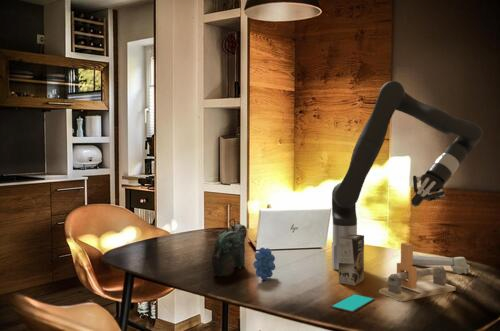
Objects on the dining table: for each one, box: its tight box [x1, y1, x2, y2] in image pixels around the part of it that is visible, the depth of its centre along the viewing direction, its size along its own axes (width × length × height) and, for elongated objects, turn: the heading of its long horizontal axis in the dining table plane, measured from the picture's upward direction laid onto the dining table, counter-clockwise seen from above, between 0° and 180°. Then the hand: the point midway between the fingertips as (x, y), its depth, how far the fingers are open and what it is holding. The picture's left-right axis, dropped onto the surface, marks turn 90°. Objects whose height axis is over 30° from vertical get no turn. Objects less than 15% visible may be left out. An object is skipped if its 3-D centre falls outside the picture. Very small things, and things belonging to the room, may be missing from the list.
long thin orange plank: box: [396, 242, 418, 289], centre depth 163 cm, size 2×7×14 cm, turn 27°
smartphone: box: [330, 294, 375, 314], centre depth 154 cm, size 7×1×15 cm
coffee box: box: [338, 234, 365, 286], centre depth 177 cm, size 9×6×16 cm
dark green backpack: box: [211, 218, 248, 277], centre depth 191 cm, size 20×6×20 cm, turn 150°
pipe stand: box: [378, 266, 457, 302], centre depth 165 cm, size 24×10×7 cm, turn 117°
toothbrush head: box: [413, 254, 470, 275], centre depth 194 cm, size 5×7×25 cm
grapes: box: [252, 247, 276, 281], centre depth 179 cm, size 12×7×12 cm, turn 141°
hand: (413, 204), depth 173 cm, fingers closed
